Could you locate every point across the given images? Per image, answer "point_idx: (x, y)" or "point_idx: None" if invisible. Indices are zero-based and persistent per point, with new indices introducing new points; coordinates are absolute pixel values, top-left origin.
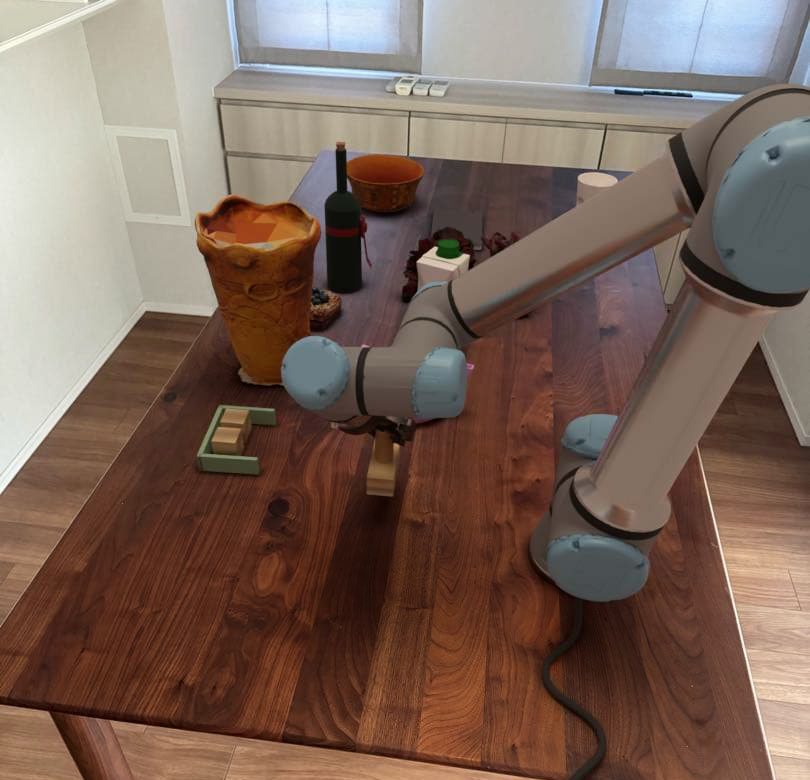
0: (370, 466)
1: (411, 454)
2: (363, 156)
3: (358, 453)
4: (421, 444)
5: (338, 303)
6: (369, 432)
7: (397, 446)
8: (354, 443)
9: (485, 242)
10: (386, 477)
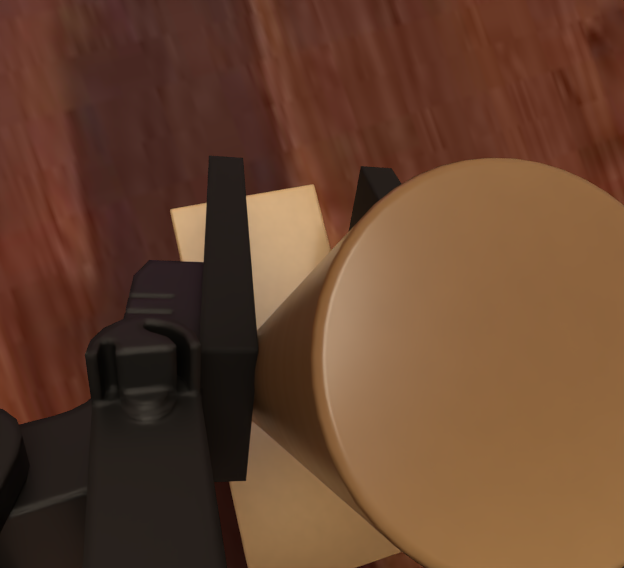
0: (240, 490)
1: (270, 96)
2: None
3: (64, 146)
4: (285, 32)
5: None
6: (220, 476)
7: (320, 250)
8: (25, 90)
9: None
10: (364, 548)
